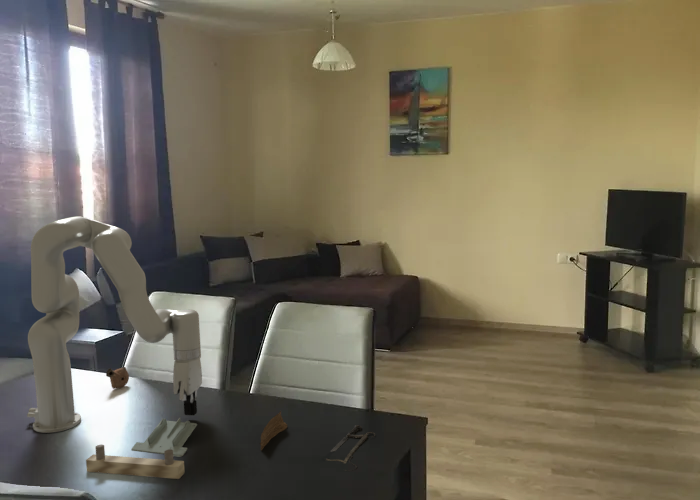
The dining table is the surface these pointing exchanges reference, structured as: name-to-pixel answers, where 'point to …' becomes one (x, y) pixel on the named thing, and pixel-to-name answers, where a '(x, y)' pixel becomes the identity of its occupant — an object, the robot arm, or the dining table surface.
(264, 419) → the dining table surface
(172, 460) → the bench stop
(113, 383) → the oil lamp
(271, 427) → the wood plank
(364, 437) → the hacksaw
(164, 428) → the metal bracket
